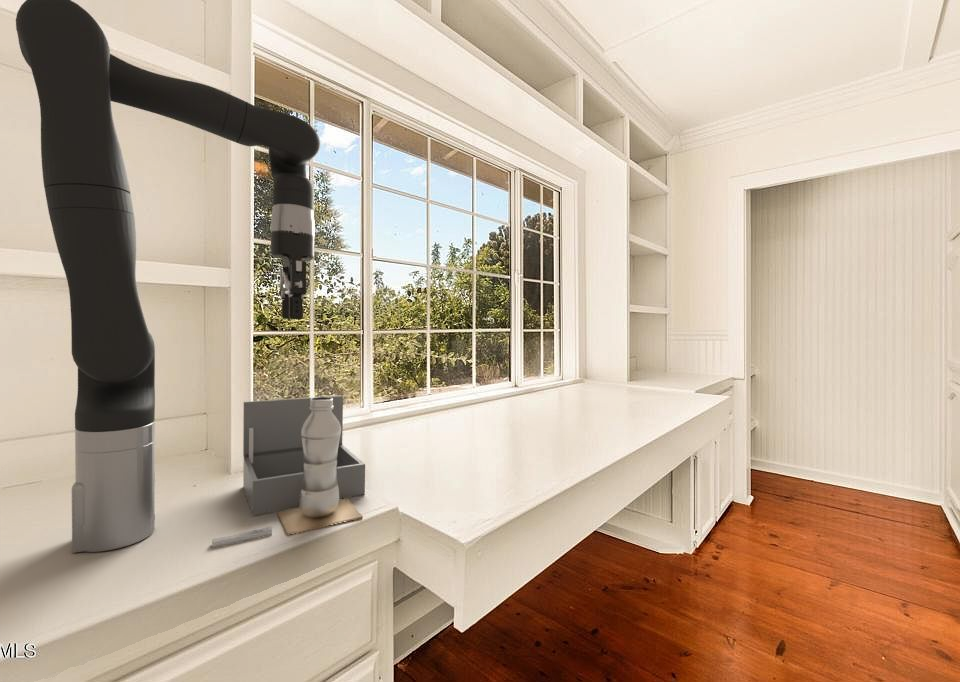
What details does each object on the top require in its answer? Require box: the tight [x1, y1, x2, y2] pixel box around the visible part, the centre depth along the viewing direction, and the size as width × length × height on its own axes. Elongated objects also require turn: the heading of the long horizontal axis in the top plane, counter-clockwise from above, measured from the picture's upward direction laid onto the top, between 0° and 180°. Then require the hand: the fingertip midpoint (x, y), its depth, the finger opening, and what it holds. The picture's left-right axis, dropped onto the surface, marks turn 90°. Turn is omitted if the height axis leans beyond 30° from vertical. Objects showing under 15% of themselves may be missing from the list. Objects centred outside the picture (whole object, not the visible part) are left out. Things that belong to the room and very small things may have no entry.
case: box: [242, 394, 366, 517], centre depth 87 cm, size 20×16×17 cm
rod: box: [211, 526, 273, 549], centre depth 67 cm, size 8×1×1 cm, turn 124°
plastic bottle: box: [298, 396, 341, 517], centre depth 76 cm, size 6×7×20 cm
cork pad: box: [277, 498, 363, 536], centre depth 76 cm, size 12×9×1 cm
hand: (291, 319), depth 84 cm, fingers open, 8 cm apart
